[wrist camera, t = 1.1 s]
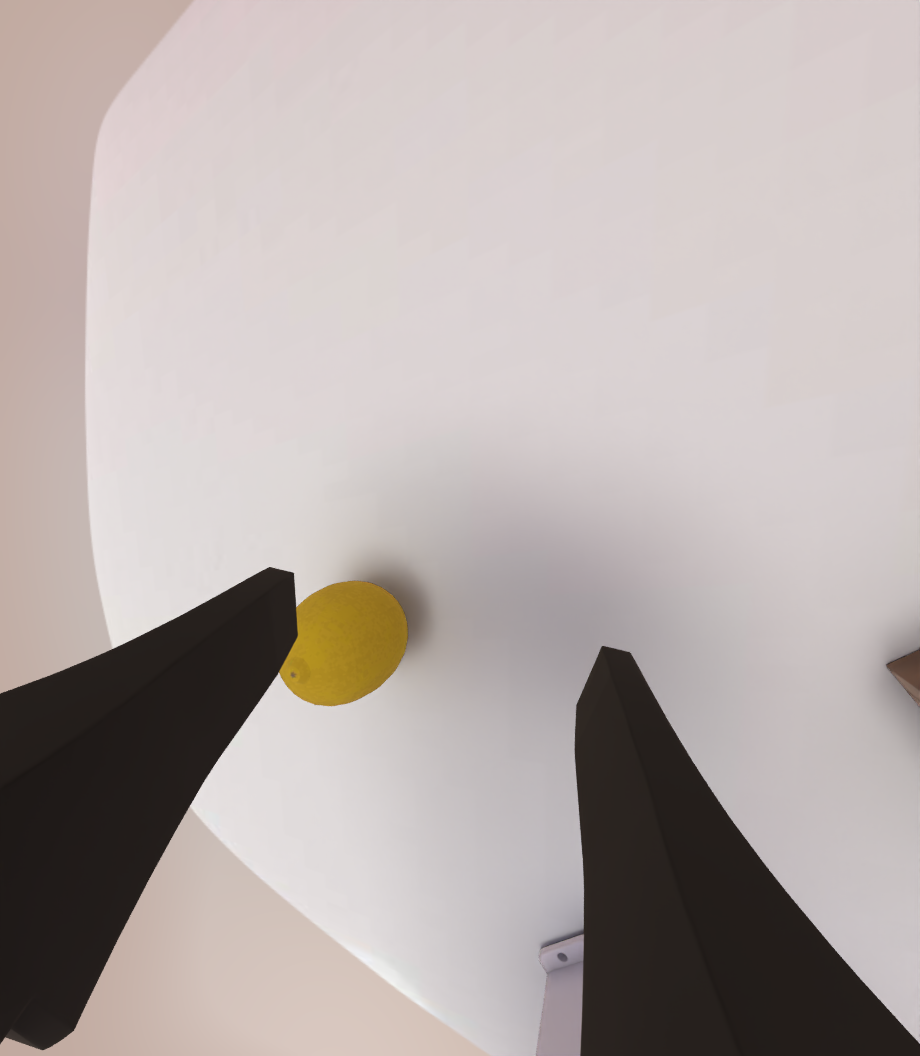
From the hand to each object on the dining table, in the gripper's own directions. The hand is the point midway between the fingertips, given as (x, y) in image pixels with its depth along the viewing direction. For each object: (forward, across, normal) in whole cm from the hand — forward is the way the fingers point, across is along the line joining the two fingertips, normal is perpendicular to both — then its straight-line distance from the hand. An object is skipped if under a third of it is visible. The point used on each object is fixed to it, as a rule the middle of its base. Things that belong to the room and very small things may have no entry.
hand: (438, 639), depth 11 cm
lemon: (+11, +4, +11) cm, 16 cm away
